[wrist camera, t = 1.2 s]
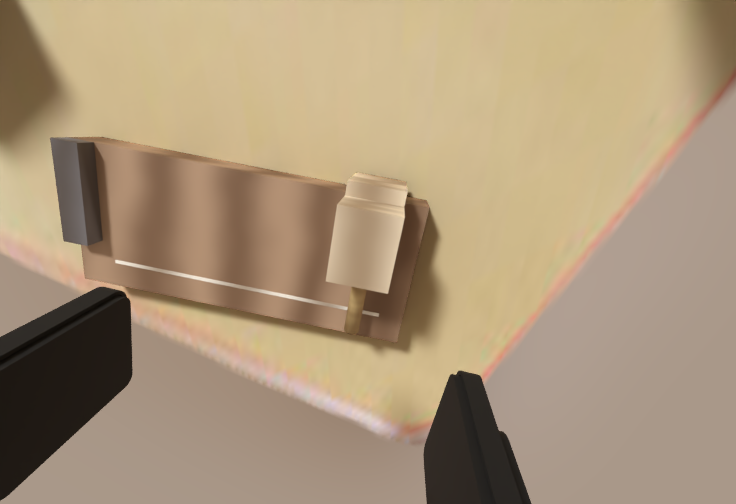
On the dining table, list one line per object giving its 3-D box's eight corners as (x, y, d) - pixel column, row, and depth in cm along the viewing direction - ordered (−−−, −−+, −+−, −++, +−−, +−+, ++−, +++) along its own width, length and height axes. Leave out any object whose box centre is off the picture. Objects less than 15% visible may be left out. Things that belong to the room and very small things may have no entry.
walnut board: (426, 200, 28) (431, 212, 24) (396, 324, 32) (396, 353, 28) (101, 136, 29) (50, 137, 25) (111, 265, 33) (69, 285, 29)
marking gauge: (406, 181, 27) (408, 200, 20) (378, 313, 31) (370, 371, 24) (356, 172, 27) (339, 187, 20) (334, 304, 31) (314, 359, 24)
